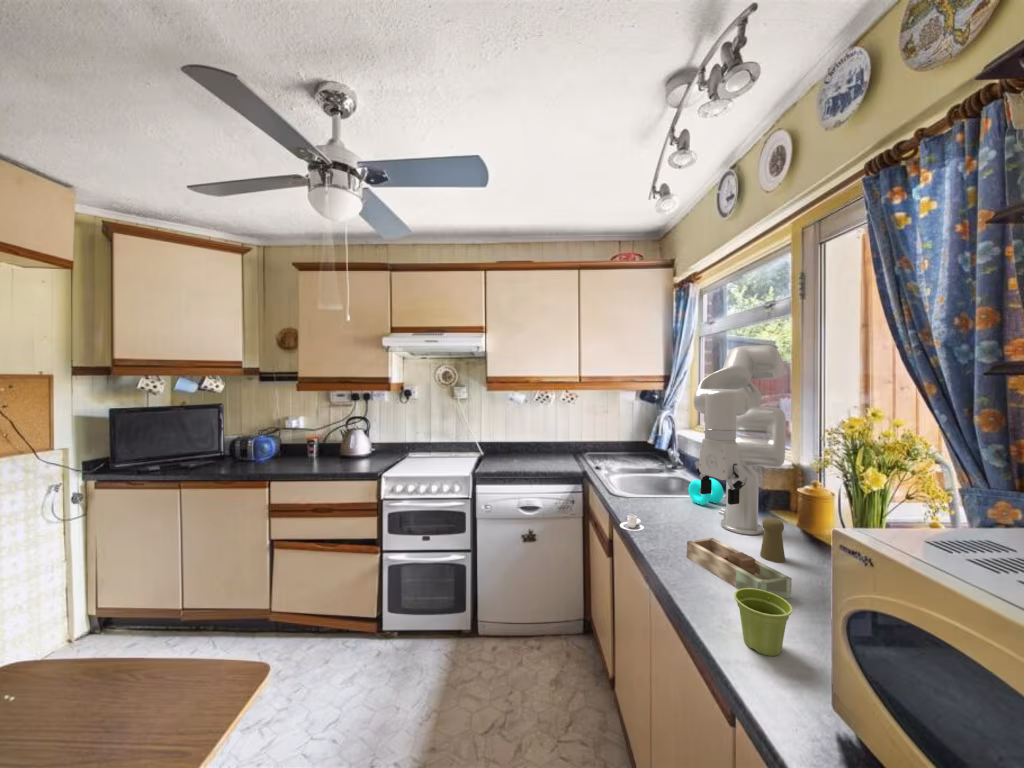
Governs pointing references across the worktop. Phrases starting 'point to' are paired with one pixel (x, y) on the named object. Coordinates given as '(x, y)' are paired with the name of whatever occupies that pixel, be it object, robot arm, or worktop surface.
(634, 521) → the teacup and saucer
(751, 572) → the block
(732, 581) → the box
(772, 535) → the cork
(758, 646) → the plant pot
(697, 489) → the donuts
